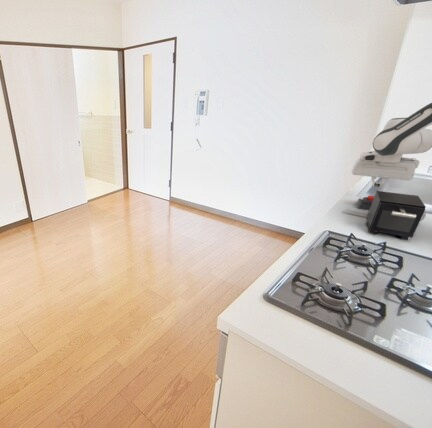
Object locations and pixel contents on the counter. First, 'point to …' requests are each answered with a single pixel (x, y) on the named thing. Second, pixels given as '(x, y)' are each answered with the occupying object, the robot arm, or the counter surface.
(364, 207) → the release box
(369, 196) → the release button
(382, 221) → the oven door
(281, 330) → the counter surface
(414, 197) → the oven
